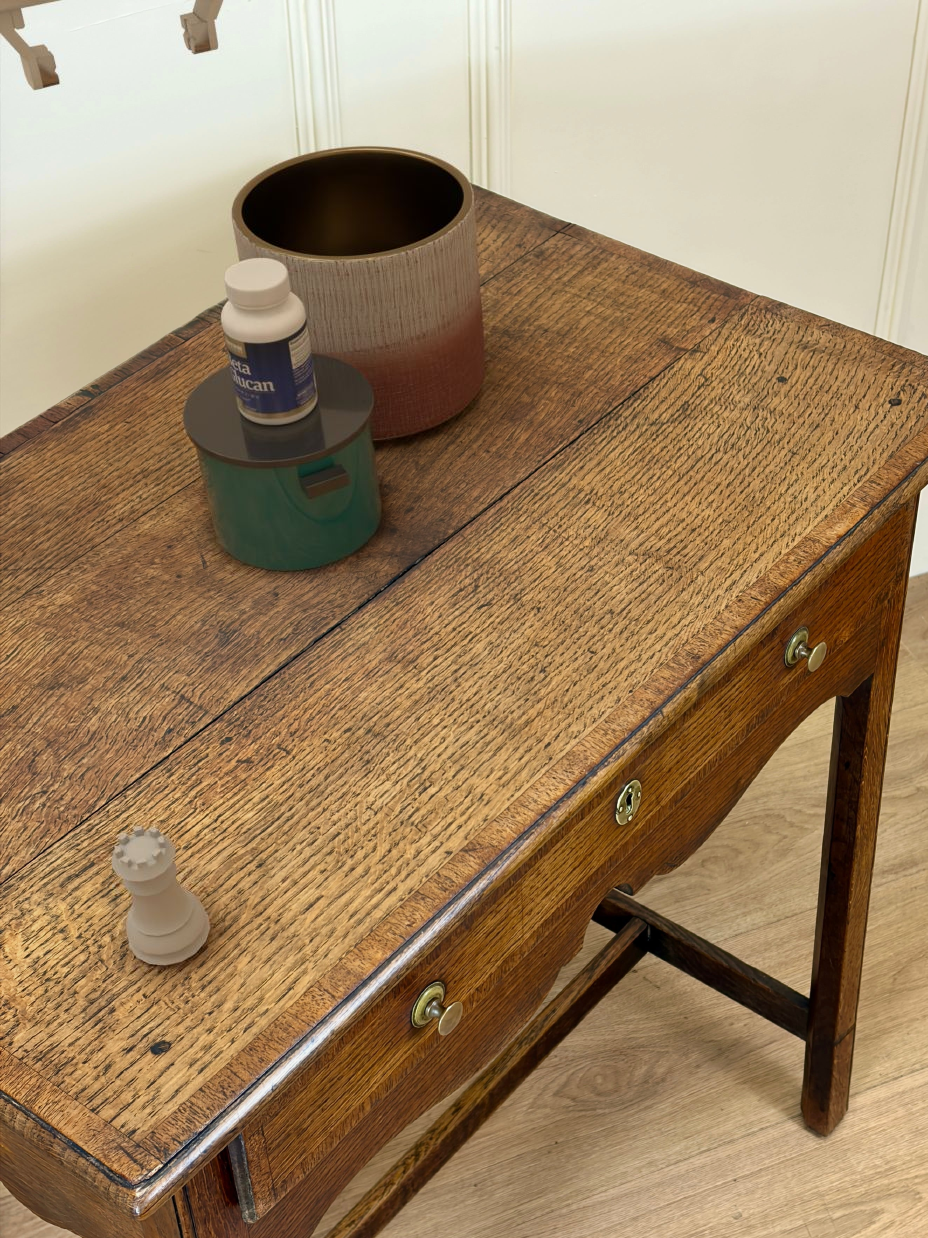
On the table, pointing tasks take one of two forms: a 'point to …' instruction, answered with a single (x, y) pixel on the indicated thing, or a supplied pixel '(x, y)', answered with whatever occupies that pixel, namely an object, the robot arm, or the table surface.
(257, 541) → the pot
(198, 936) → the rook chess piece
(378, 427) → the planter
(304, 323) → the pill bottle
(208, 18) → the robot arm
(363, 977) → the table surface
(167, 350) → the table surface
